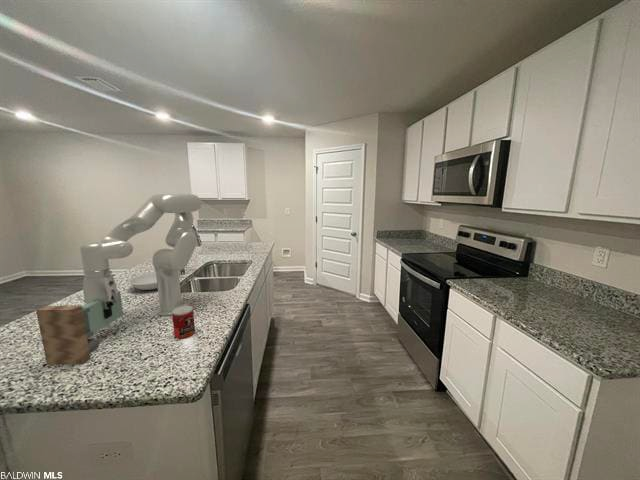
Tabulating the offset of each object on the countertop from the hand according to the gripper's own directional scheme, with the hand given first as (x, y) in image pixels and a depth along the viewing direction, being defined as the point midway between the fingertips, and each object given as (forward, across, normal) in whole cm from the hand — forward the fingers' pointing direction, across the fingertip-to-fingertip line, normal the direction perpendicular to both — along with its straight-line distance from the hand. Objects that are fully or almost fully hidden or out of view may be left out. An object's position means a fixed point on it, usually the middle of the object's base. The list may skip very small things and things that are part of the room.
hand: (103, 316), depth 101 cm
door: (+3, 0, +3) cm, 4 cm away
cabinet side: (+9, 0, +12) cm, 15 cm away
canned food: (+9, -31, -2) cm, 32 cm away
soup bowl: (+9, +16, -55) cm, 58 cm away
